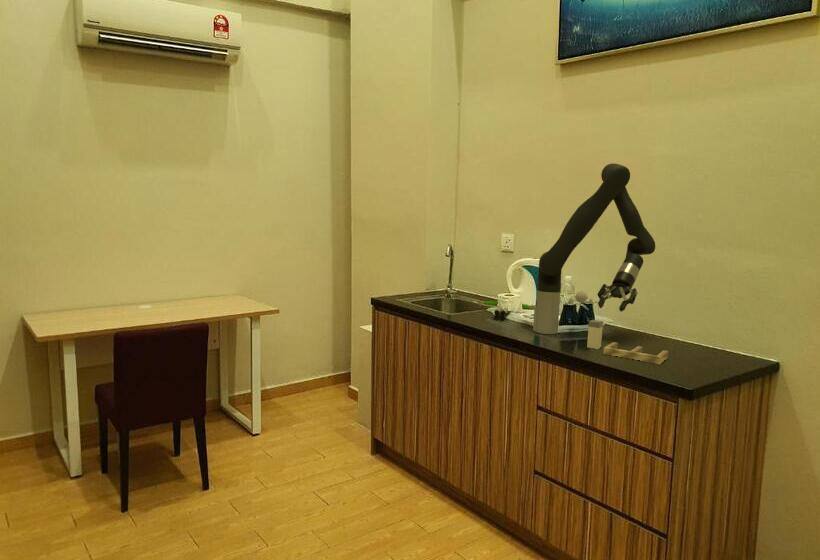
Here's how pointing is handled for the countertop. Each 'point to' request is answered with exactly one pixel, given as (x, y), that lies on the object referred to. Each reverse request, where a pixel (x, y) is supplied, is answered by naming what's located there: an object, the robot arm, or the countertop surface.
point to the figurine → (502, 311)
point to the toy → (581, 298)
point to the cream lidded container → (595, 334)
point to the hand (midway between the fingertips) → (610, 308)
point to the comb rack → (635, 354)
